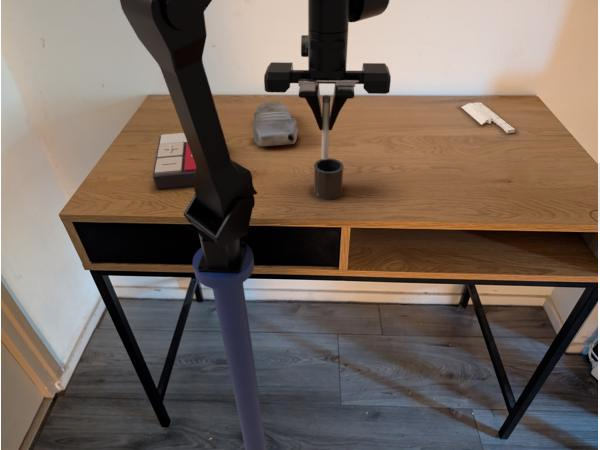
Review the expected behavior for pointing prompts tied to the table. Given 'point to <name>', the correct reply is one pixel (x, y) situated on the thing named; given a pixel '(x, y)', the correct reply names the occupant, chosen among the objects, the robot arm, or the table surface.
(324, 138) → the stylus
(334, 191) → the pen cup
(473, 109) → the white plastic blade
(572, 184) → the table surface
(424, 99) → the table surface
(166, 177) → the calculator
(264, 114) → the handheld device
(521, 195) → the table surface
